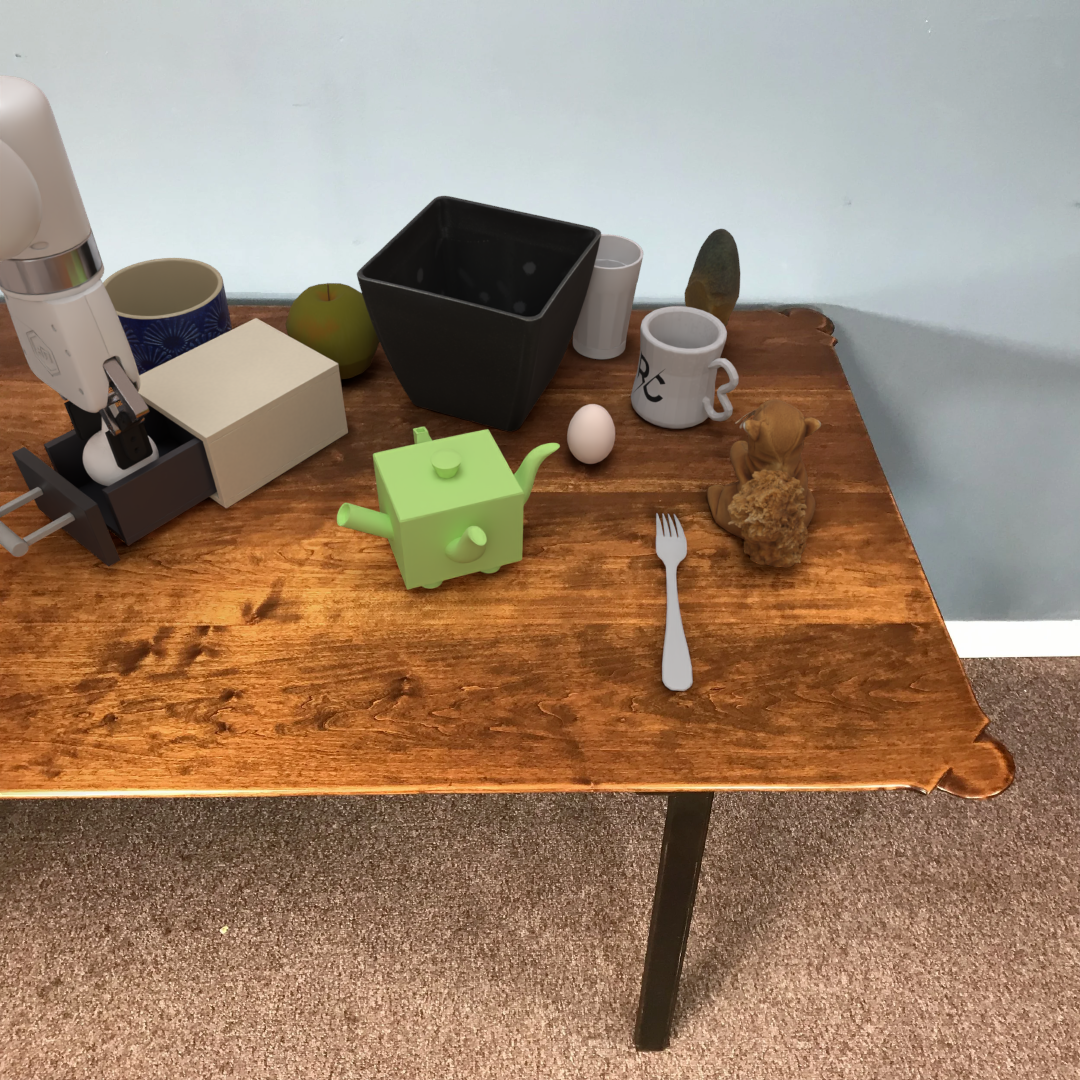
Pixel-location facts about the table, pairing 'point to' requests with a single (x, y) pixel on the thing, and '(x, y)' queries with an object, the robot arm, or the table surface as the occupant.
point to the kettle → (448, 506)
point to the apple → (334, 326)
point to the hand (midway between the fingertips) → (115, 444)
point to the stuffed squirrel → (768, 486)
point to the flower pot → (478, 306)
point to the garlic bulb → (109, 457)
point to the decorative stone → (715, 276)
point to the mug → (681, 368)
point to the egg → (591, 434)
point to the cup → (609, 299)
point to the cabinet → (250, 404)
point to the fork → (673, 607)
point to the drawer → (111, 490)
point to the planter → (168, 307)
